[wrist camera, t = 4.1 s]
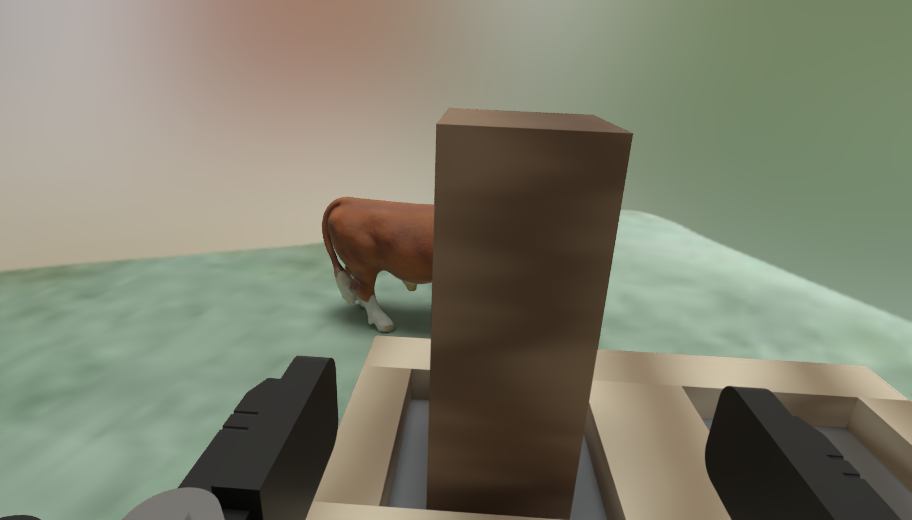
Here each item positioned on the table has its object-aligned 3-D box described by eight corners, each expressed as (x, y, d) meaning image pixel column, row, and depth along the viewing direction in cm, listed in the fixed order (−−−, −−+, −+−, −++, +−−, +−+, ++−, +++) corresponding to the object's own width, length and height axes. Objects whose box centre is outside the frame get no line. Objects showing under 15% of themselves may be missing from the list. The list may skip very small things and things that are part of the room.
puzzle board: (284, 647, 13) (276, 584, 12) (376, 377, 24) (375, 335, 23) (1181, 722, 12) (1238, 660, 11) (849, 408, 23) (865, 365, 23)
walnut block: (425, 513, 16) (436, 123, 12) (437, 420, 20) (448, 107, 16) (569, 524, 16) (633, 133, 12) (551, 428, 20) (593, 114, 16)
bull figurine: (554, 364, 26) (574, 211, 23) (315, 325, 29) (305, 183, 26) (559, 325, 30) (576, 189, 27) (348, 293, 33) (343, 168, 30)
